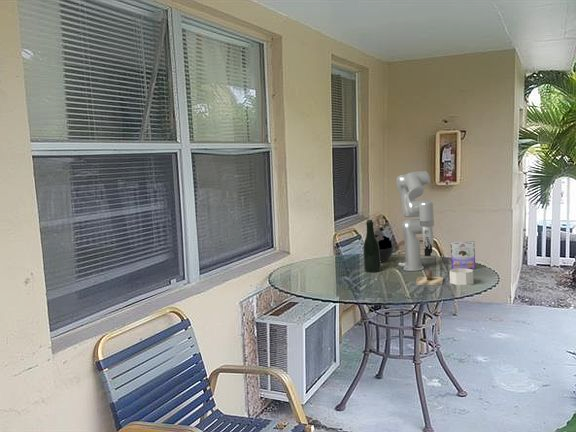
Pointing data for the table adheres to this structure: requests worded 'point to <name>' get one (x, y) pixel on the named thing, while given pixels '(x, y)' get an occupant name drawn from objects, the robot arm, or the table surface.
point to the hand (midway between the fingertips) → (428, 254)
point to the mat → (430, 285)
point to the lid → (429, 279)
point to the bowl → (461, 276)
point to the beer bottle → (371, 250)
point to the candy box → (463, 255)
